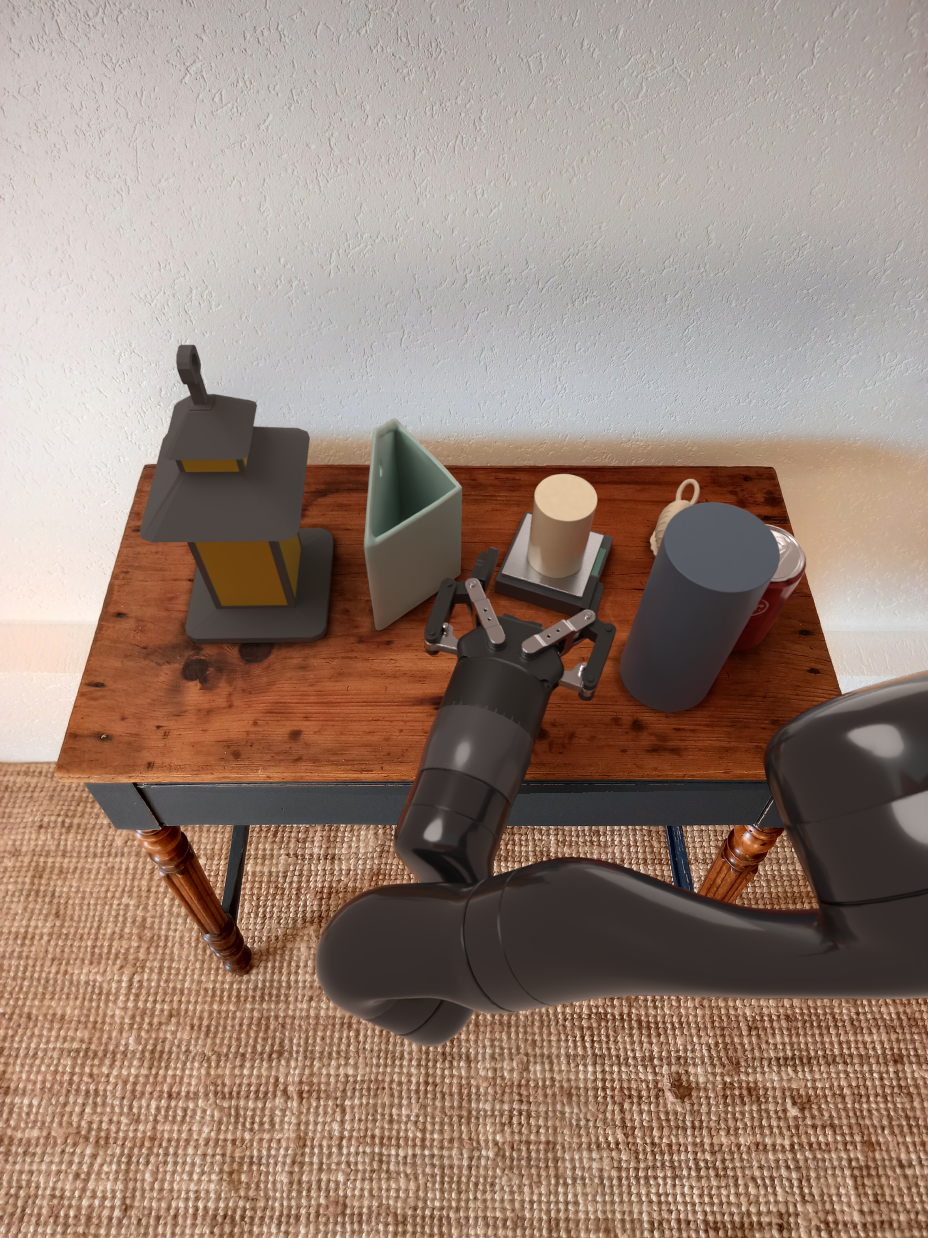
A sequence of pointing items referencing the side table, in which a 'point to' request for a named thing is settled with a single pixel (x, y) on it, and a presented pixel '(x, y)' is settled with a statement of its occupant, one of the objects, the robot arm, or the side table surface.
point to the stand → (696, 603)
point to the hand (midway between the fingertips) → (543, 566)
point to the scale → (541, 589)
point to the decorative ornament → (672, 513)
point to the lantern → (239, 519)
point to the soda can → (775, 590)
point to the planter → (408, 524)
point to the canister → (561, 525)
